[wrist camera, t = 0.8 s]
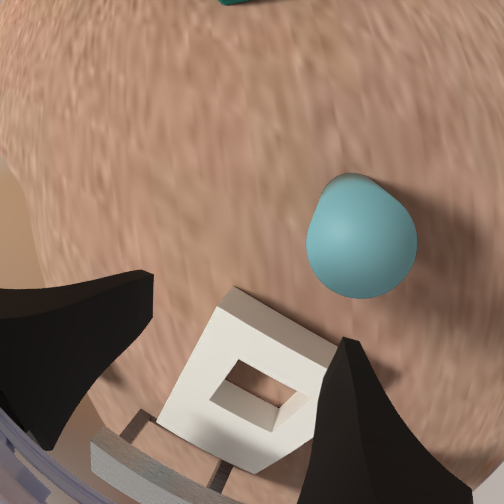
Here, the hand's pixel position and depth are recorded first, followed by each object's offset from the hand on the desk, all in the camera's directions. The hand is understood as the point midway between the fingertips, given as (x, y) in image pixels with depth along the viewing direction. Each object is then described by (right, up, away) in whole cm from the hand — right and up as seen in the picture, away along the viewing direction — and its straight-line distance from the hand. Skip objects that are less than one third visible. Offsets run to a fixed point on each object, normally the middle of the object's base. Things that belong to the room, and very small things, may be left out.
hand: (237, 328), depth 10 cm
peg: (+6, +5, +7) cm, 11 cm away
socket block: (0, -10, +14) cm, 17 cm away
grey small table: (-6, -17, +18) cm, 26 cm away
